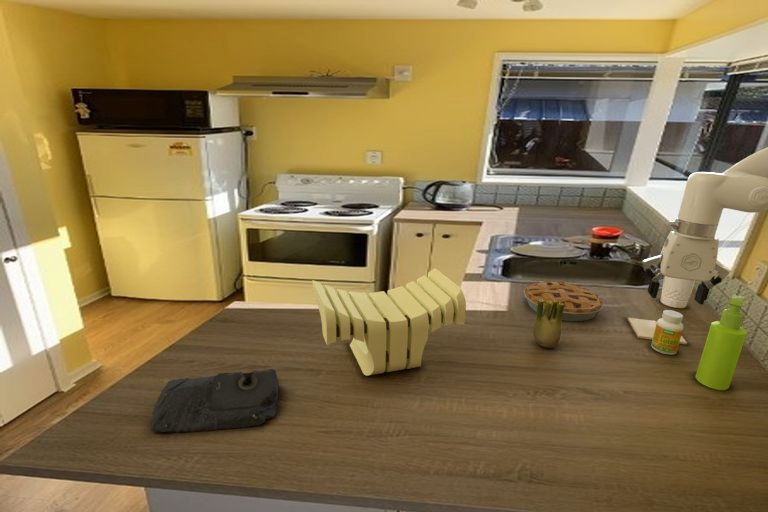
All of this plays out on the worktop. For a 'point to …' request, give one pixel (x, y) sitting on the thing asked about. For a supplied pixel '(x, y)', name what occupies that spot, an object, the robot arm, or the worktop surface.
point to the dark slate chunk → (216, 402)
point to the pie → (564, 299)
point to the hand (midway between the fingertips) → (675, 299)
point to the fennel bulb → (548, 324)
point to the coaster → (646, 329)
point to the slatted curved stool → (390, 320)
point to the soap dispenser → (723, 347)
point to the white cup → (676, 292)
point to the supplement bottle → (668, 332)
